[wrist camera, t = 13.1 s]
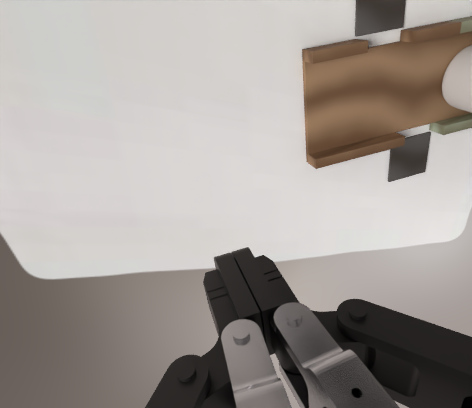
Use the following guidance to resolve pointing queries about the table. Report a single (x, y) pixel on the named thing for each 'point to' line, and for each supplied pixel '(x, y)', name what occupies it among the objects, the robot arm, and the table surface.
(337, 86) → the lane
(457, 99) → the pill bottle
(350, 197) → the table surface
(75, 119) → the table surface
